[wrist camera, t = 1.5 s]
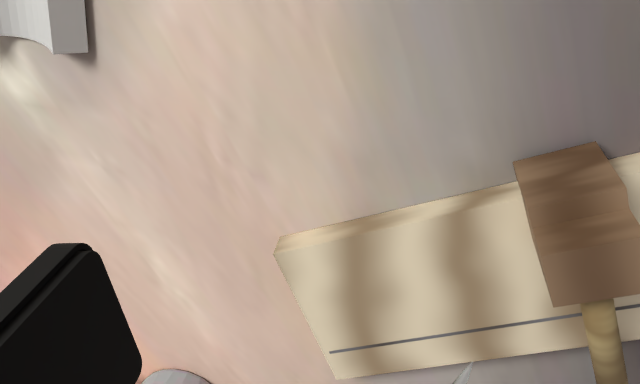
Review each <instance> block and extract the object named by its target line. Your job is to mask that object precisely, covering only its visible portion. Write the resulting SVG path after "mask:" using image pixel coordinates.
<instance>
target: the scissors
mask: <svg viewBox="0 0 640 384" xmlns="http://www.w3.org/2000/svg"><path fill="white" fill-rule="evenodd" d="M472 365H473V362H471V363H470V364H469V365H468V366H467V367H466V368H465V369H464V371H463V372H462V373H461V374H460V375H459V377H458V378H457V379H456V380H455V381H454V382H453V384H467V382H468V379H469V375H470V372H471V368H472Z"/></svg>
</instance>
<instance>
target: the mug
mask: <svg viewBox="0 0 640 384" xmlns="http://www.w3.org/2000/svg"><path fill="white" fill-rule="evenodd" d="M142 384H210V383H208V382H207V381H206V380H204V379H203V378H201V377H199V376H197V375H195V374H192V373H190V372H187V371H182V370H178V369H163V370H160V371H157V372H154V373H152V374H151V375H150V376H148V377H147V378H146V379H145V380H144V381H143V382H142Z"/></svg>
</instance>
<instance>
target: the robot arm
mask: <svg viewBox="0 0 640 384" xmlns="http://www.w3.org/2000/svg"><path fill="white" fill-rule="evenodd" d="M141 368H142V359H141V355H140V353H139V350H138V348H137V345H136V343H135V340H134V338H133V335H132V333H131V331H130V328H129V326H128V323H127V321H126V318H125V316H124V313H123V311H122V308H121V306H120V303H119V301H118V298H117V296H116V293H115V291H114V289H113V286H112V284H111V281H110V279H109V276H108V274H107V271H106V269H105V266H104V264H103V261H102V259H101V257H100V255H99V254H98V253H97V252H95V251H93V250H92V248H91V247H90V246H89V245H88V244H84V243H59V244H53V245H51V246H50V247H48V248H47V249H46V250H45V251H44V252H43V253H42V254H41V255H40V256H38V257H37V258H36V259H35V260H34V261H33V262H32V263H31V264H30V265H29V266H28V267H27V268H26V269H25V270H24V271H23V272H22V273H21V274H20V275H19V276H18V277H16V278H15V279H14V280H13V281H12V282H11V283H10V284H9V285H8V286H7V287H6V288H5V289H4V290H3V291H2V292H1V293H0V384H135V383H136V381H137V379H138V378H139V375H140V373H141Z"/></svg>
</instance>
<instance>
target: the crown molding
mask: <svg viewBox="0 0 640 384" xmlns="http://www.w3.org/2000/svg"><path fill="white" fill-rule="evenodd" d="M0 36H14V37H21V38H26V39H30V40H33V41H36V42H39V43H41V44H43V45H44V46H46V47H47V48H48V49H49V50H50V51H51V52H52V53H53V54H69V53H88V42H87V29H86V16H85V3H84V0H0Z"/></svg>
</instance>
